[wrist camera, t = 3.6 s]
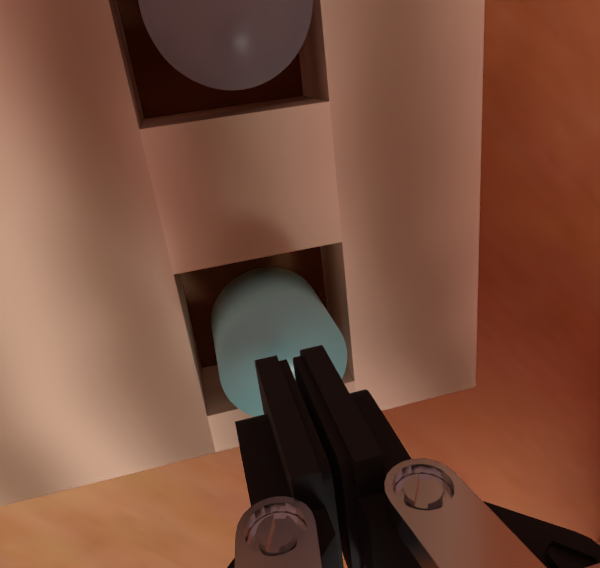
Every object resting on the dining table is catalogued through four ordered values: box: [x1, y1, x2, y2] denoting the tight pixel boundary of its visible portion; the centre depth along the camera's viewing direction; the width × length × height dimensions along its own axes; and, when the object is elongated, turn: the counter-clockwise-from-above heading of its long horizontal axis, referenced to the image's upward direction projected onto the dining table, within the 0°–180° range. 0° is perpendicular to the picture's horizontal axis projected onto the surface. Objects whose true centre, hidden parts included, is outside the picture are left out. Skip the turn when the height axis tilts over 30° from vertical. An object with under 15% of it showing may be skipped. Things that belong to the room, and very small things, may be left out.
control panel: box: [0, 0, 485, 507], centre depth 13 cm, size 24×26×3 cm
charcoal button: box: [138, 0, 313, 90], centre depth 12 cm, size 4×4×3 cm
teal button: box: [211, 267, 347, 417], centre depth 16 cm, size 4×4×3 cm
